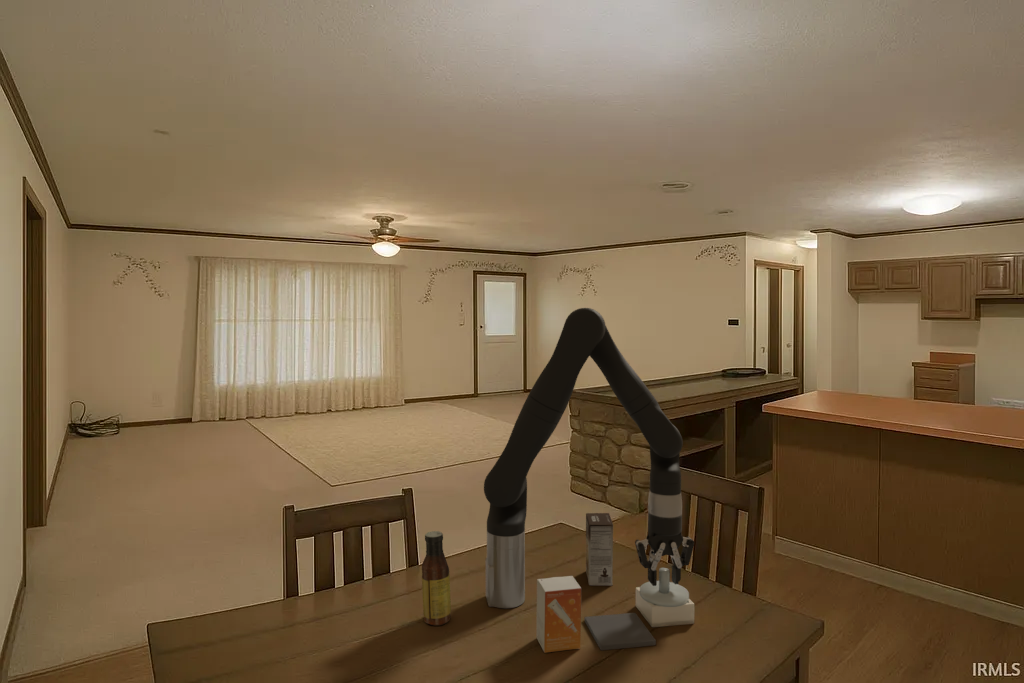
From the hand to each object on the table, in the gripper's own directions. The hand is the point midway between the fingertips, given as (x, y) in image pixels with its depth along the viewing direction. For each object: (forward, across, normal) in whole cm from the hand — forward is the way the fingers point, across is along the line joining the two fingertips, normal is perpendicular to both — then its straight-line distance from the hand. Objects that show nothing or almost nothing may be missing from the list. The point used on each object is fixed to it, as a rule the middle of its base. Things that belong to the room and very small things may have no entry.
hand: (664, 583), depth 139 cm
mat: (+7, -13, -6) cm, 16 cm away
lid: (+3, 0, 0) cm, 3 cm away
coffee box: (+8, -9, +21) cm, 24 cm away
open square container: (+7, 0, 0) cm, 7 cm away
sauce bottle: (+8, -52, +6) cm, 53 cm away
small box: (+8, -27, -8) cm, 29 cm away
